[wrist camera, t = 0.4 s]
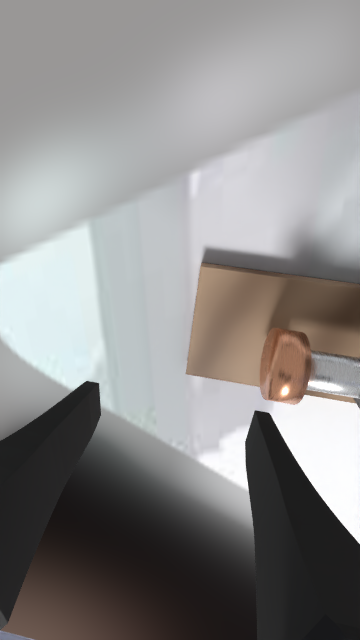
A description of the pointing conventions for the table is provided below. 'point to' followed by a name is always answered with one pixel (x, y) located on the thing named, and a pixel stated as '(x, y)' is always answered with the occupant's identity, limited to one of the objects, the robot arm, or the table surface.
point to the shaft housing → (267, 320)
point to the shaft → (304, 369)
